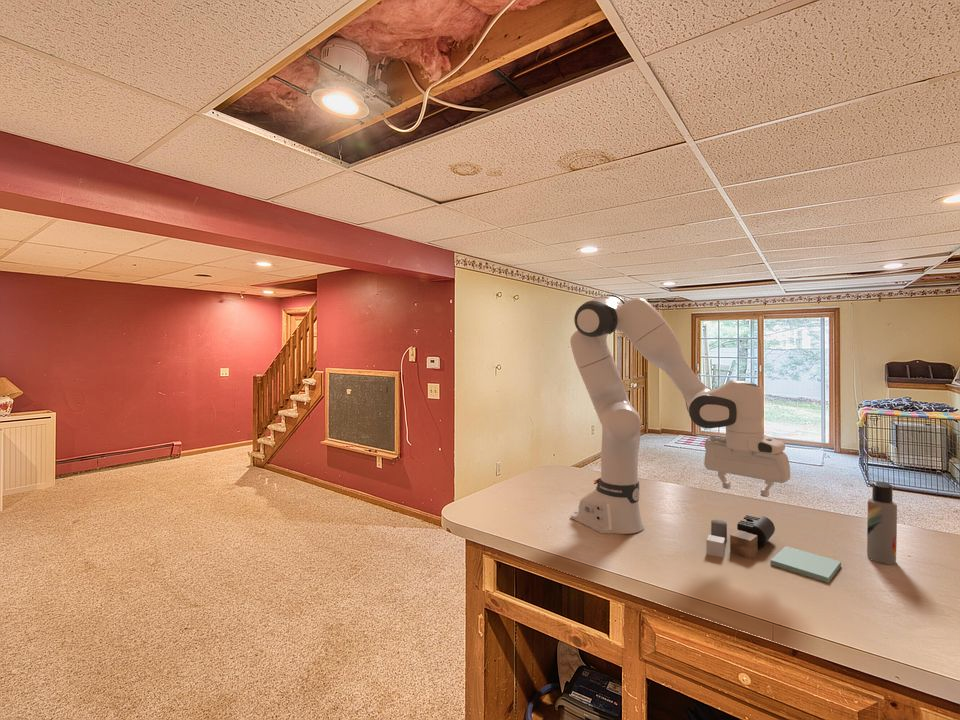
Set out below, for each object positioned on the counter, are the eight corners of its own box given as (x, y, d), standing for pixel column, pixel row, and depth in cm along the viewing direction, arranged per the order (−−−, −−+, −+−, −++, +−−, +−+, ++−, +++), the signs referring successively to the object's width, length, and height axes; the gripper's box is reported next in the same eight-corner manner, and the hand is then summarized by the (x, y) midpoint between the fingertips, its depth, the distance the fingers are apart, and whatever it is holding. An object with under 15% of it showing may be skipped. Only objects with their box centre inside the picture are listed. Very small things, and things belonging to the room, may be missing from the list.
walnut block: (730, 553, 123) (730, 534, 123) (737, 547, 127) (737, 529, 126) (750, 559, 120) (750, 540, 119) (757, 553, 123) (757, 535, 123)
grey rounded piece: (708, 539, 132) (708, 522, 132) (714, 535, 135) (714, 518, 134) (723, 543, 129) (723, 526, 129) (729, 539, 131) (729, 522, 131)
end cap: (765, 553, 123) (765, 528, 123) (736, 545, 128) (736, 521, 128) (775, 541, 130) (775, 518, 130) (747, 534, 135) (747, 512, 135)
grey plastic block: (706, 554, 123) (706, 539, 123) (708, 548, 126) (708, 534, 126) (723, 558, 120) (723, 543, 120) (725, 552, 124) (725, 537, 124)
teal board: (770, 564, 116) (770, 560, 116) (785, 550, 124) (785, 546, 124) (828, 582, 107) (828, 577, 107) (840, 566, 115) (841, 561, 115)
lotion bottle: (896, 558, 118) (897, 482, 118) (896, 567, 114) (897, 488, 114) (867, 552, 122) (868, 478, 122) (866, 560, 118) (867, 483, 117)
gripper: (699, 437, 128) (700, 486, 128) (784, 448, 112) (784, 504, 113) (709, 434, 132) (710, 481, 132) (792, 444, 116) (792, 498, 117)
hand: (745, 492), depth 122 cm, fingers open, 8 cm apart
